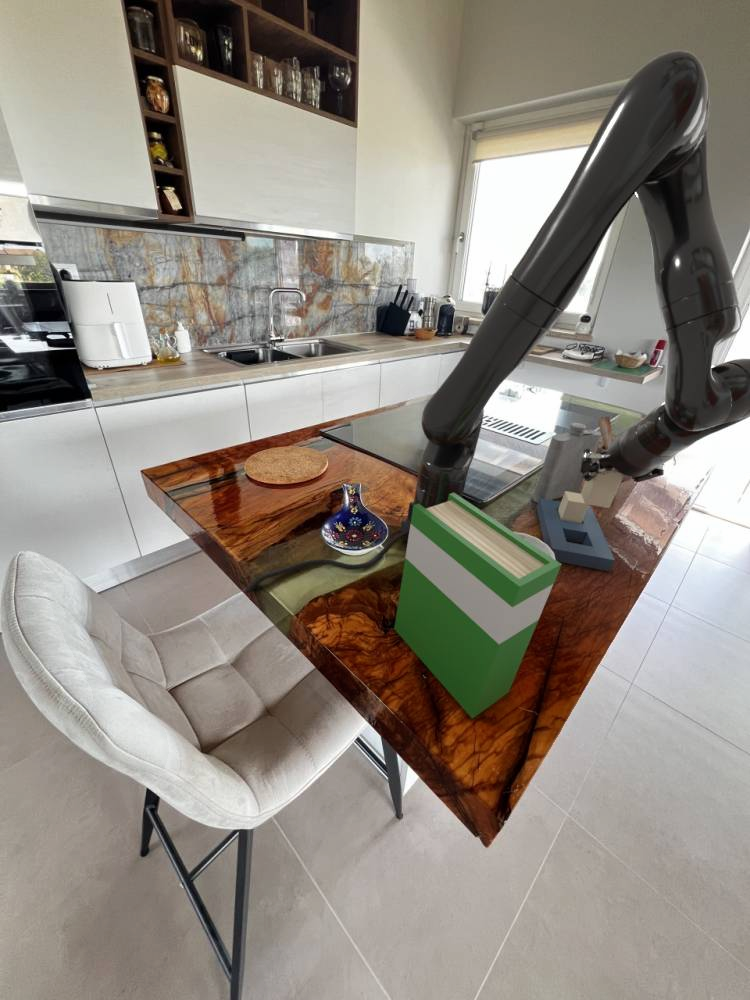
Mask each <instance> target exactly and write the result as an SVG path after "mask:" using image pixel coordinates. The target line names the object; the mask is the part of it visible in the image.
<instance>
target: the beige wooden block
mask: <svg viewBox="0 0 750 1000" xmlns="http://www.w3.org/2000/svg"><path fill="white" fill-rule="evenodd" d="M561 498H562V499H561V501H560V502H561V504H560V506H559V509H558V515H559V518H560V520H565V521H570V522H576V523H582V521H583V519H584V516H585V514H586V511H587V509H588V507H590V505H588V504H585V502H584V499H583V497H582V495H581V493H580V492H579V493H574V492H568V491H565V493H564V496H563V497H561Z"/></svg>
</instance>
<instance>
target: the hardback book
mask: <svg viewBox="0 0 750 1000" xmlns="http://www.w3.org/2000/svg"><path fill="white" fill-rule="evenodd" d="M514 532H515V531H513V530H511V529H510V528H508V527H506V526H505V525H504V524H502V523H500V522H499V521H497V520H496V519H495V518H493V517H491V515H488V514H487V513H485V512H484V511H482V510H481V509H480V508H478V507H476V506H475V505H474V504H472V503H470V502H469V501H468V500H466V499H464V498H463V497H462V498H461V497H460V496H458V495H457V494H455V493H451V494H449V497H448V502H445V503H442V504H439V505H435V506H432V507H429V508H426V509H425V508H424V507H423V506H421V505H420V504H416V505H413V512H412V518H411V525H410V531H409V537H408V543H406V551H405V557H404V563H403V570H402V576H401V583H400V591H399V595H398V603H397V609H396V614H395V615H396V616H395V621H394V627H393V628H394V631H395V632H396V633H397V634H398V635H399V637H401V639H402V640H403V641H404V642H405V643H406V645H408V647H409V648H410V649H411V651H413V653H414V654H415V655H416V656H417V657H418V659H419V660H421V662H422V663H423V664H424V666H426V667H427V669H428V670H429V671H430V672H431V673H432V675H434V677H435V678H436V679H437V680H438V681H439V682H440V684H441V685H443V687H444V688H445V689H446V691H447V692H448V693H449V694H450V695H451V697H453V698H454V700H455V701H456V702H457V703H458V704H459V706H461V708H462V709H463V711H465V712H466V714H467V715H468V716H469V717H470V718H471V719H474V718H476V717H477V716H479V715H480V714H481V713H483V712H484V711H485V710H487V709H488V708H489V707H491V706H492V705H494V704H495V703H496V702H497V701H499V700H500V699H502V698H503V697H505V696H506V695H508V693H509V692H510V690H511V688H512V685H513V683H514V680H515V678H516V676H517V673H518V671H519V668H520V666H521V664H522V661H523V658H524V656H525V654H526V651H527V649H528V647H529V644H530V642H531V640H532V637H533V634H534V632H535V629H536V627H537V624H538V622H539V620H540V618H541V615H542V613H543V610H544V608H545V605H546V603H547V601H548V598H549V596H550V594H551V591H552V588H553V586H554V584H555V581H556V579H557V577H558V575H559V571H560V569H561V567H562V565H563V564H562V562H558V561H556V560H555V559H553V558H552V557H550V556H549V555H547V554H546V553H544V552H543V551H541V550H540V549H538V548H537V547H535V546H534V545H532V544H531V543H529V542H528V541H526V540H525V539H523V538H522V537H520V536H519V535H517V534H516V533H514Z"/></svg>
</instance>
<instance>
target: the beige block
mask: <svg viewBox="0 0 750 1000" xmlns="http://www.w3.org/2000/svg"><path fill="white" fill-rule="evenodd" d="M623 475H624V474H622V473H619V472H615V473H613V472H611V473H608V474H605V475H600V474H598V475H595V477H593V478H592V479H590V480H589V481H585V482H584V484H583V486H582V489H581V491H580V494H581V495H582V497H583V499H584V502H585V504H588V505H589V506H595V507H599V508H606V509H610V508H611V506H612V503H613V501H614V500H615V496H616V494H617V492H618V491H619V488H620V485H621V484H622V483H621V481H622V479H623ZM620 483H621V484H620Z"/></svg>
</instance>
